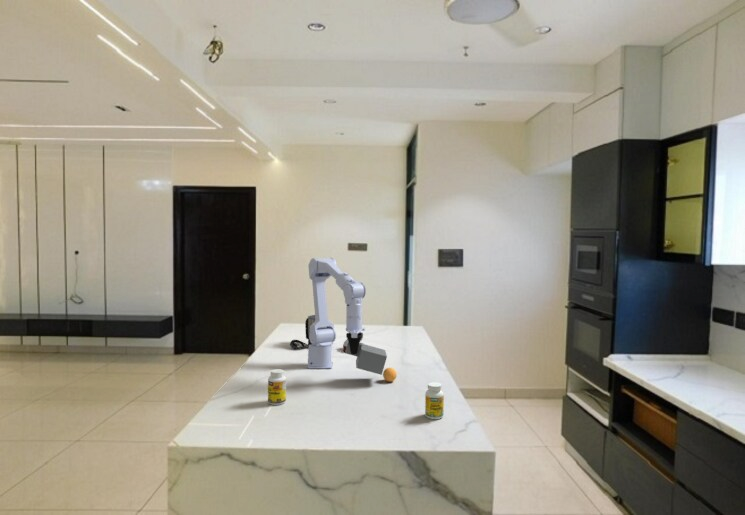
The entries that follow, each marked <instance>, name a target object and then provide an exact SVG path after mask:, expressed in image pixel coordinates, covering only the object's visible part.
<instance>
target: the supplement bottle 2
mask: <svg viewBox="0 0 745 515" xmlns="http://www.w3.org/2000/svg"><path fill="white" fill-rule="evenodd" d="M424 395H425V396H424V397H425V401H424V402H425V403H424V404H425V406H424V407H425V411H424V412H425V414H424V415H425V417H427V419H430V420H440V418H441V419H443V418H444V399H445V398H444V396H445V395H444V392H443V391H442V383H441V382H435V381H434V382H428V383H427V390H426V391H425V394H424Z"/></svg>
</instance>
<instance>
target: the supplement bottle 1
mask: <svg viewBox="0 0 745 515" xmlns="http://www.w3.org/2000/svg"><path fill="white" fill-rule="evenodd" d="M286 401H287V377H286V376H285V375H284V369H280V368H274V369H271V370H270V376H269V377H268V378H267V402H268V404H269V405H271V406H279V405H283V404H285V403H286Z"/></svg>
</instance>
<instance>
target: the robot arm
mask: <svg viewBox="0 0 745 515" xmlns="http://www.w3.org/2000/svg"><path fill="white" fill-rule="evenodd" d="M307 267H308V276H309V280H311V283H312V296H313V307H314V315H315V319H316V321H315V322H314V323H313V324H312V325H311V326H310V333H309V339H310V342H311V343H312V345H309V348H308V349H307V351H308V354H307V355H308V356H307V357H308V358H307V368H308V369H332V368H333V361H332V346H333V344H334V342H335V341H336V338H337V332H336V329H335V325H334V323H333V322H332V321H331V320H329V315H328V313H329V312H328V303H327V294H326V293H327V291H326V281H327V280H328V279H330V277H332V278H334V279H335V284H336V285H337V286H338V288H340V290H342V291H343V292H342V293H343V297H344V303H345V305H346V314H345V315H346V316H345V317H346V319H345V320H346V322H345V323H346V325H345V331H346V332H347V333H345V334H346V336H345V337H346V340H347V339H348V341H349V345H350V352H351V354H357V352H358V346H359V343H361V341H362V340H361V338H362V333H363V331H366V327H363V299H364V298H365V296H366V290H367V289H366V286H365V285H364V283H363V282H357V281H356V280H355V279H354V278H353V277H351V275H350V273H348V272H342V270H341V269H340V268H339V267H338V264H337V260H336V259H334V257H328V258H327V257H325V258H324V257H323V258H315V257H312V258H311V259H310V261H309V263H308V266H307ZM319 327H326V328H320V329H318V328H319ZM362 339H363V338H362ZM360 340H361V341H360Z"/></svg>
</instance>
